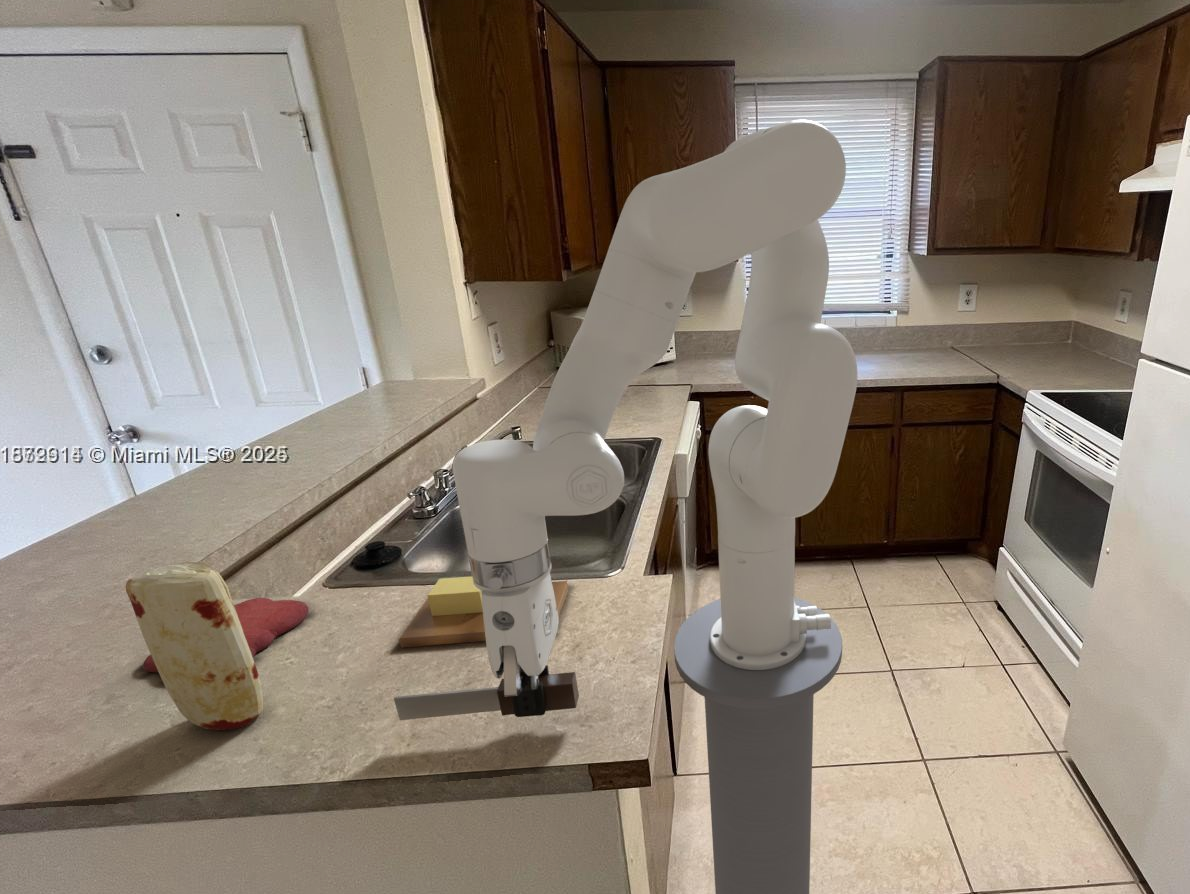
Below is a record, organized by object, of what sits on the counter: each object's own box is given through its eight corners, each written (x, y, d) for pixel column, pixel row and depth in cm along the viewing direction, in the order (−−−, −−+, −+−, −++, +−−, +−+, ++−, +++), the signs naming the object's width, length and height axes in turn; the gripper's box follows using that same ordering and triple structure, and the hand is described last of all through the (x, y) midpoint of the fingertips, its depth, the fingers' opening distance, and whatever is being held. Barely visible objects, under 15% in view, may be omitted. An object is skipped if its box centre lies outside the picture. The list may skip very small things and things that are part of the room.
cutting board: (569, 588, 96) (567, 580, 95) (553, 635, 85) (551, 626, 84) (435, 598, 94) (433, 589, 93) (400, 647, 82) (398, 638, 82)
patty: (224, 685, 76) (219, 672, 75) (120, 681, 77) (114, 668, 76) (328, 604, 92) (324, 593, 92) (241, 602, 93) (237, 590, 92)
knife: (579, 695, 70) (575, 671, 69) (576, 708, 68) (572, 683, 67) (404, 712, 68) (397, 688, 67) (396, 726, 66) (388, 701, 65)
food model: (163, 739, 68) (92, 584, 61) (217, 696, 74) (158, 551, 67) (247, 742, 67) (185, 586, 60) (294, 698, 74) (243, 552, 67)
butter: (492, 595, 92) (488, 575, 90) (483, 612, 87) (479, 591, 86) (443, 598, 91) (439, 578, 90) (431, 616, 87) (427, 595, 85)
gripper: (530, 602, 55) (553, 759, 61) (564, 524, 70) (580, 657, 76) (443, 607, 54) (475, 766, 61) (496, 527, 69) (518, 661, 75)
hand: (533, 704), depth 68 cm, fingers closed on knife, 2 cm apart
